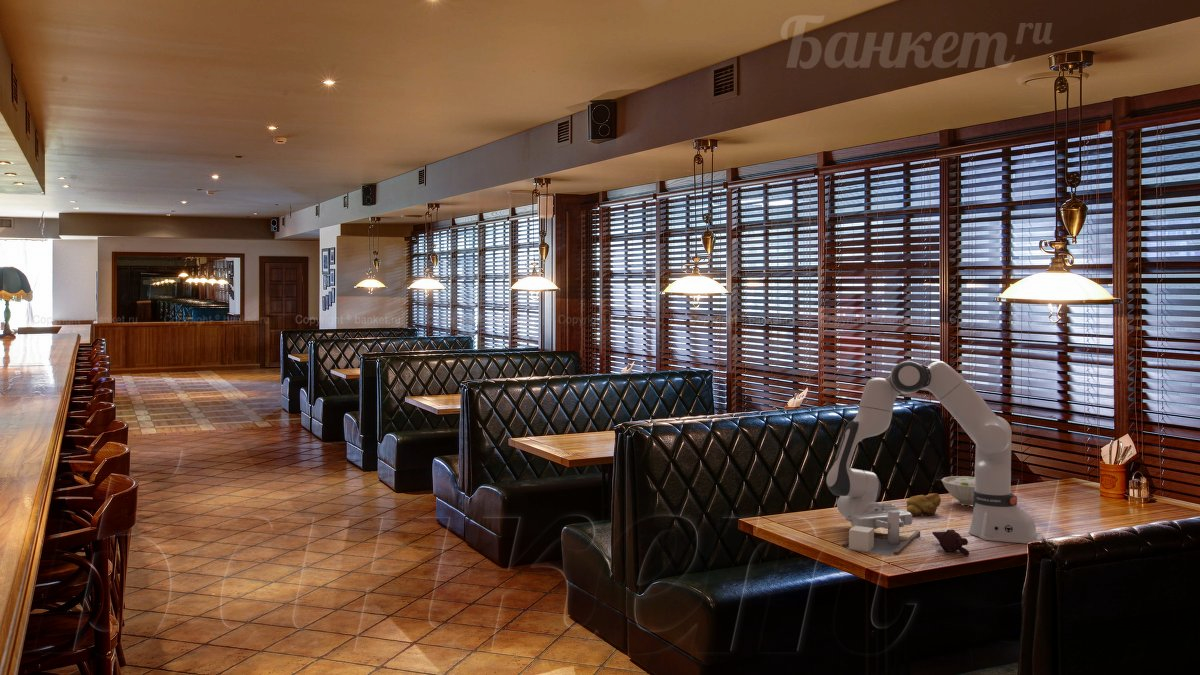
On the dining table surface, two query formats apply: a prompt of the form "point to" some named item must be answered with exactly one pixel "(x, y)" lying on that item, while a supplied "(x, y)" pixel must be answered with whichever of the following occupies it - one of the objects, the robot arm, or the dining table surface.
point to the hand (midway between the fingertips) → (895, 525)
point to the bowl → (960, 488)
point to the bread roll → (923, 504)
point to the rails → (902, 546)
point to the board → (882, 547)
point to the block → (861, 538)
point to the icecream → (951, 541)
